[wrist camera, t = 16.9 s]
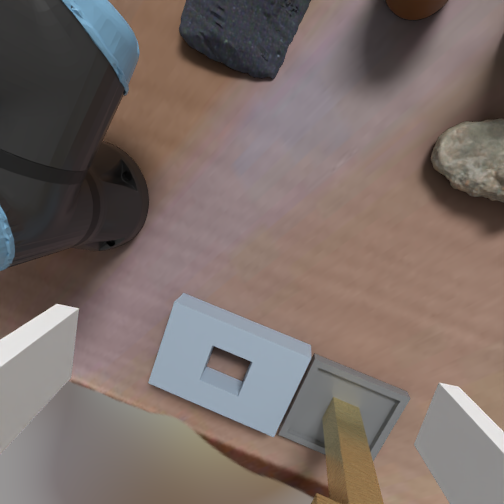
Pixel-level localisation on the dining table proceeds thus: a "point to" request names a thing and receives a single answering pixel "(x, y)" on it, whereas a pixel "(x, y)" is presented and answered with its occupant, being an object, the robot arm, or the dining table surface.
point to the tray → (348, 390)
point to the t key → (348, 458)
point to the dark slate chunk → (243, 31)
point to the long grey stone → (473, 158)
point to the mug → (415, 8)
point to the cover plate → (238, 343)
